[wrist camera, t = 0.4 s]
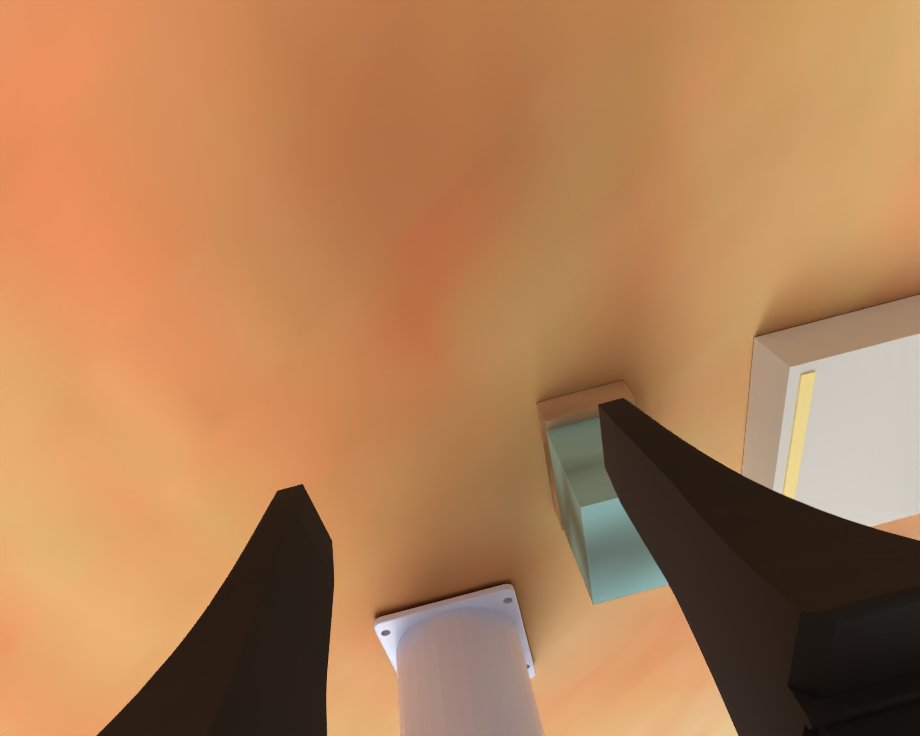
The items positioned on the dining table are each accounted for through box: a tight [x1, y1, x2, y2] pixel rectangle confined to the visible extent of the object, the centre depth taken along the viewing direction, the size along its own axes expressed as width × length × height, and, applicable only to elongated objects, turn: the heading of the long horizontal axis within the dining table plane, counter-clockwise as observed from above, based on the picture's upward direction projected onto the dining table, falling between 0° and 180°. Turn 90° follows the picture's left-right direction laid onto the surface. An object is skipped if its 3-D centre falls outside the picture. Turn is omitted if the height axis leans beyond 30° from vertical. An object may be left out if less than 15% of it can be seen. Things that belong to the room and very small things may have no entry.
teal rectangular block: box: [537, 380, 669, 604], centre depth 25 cm, size 7×4×6 cm, turn 12°
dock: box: [742, 295, 920, 527], centre depth 27 cm, size 12×10×4 cm
